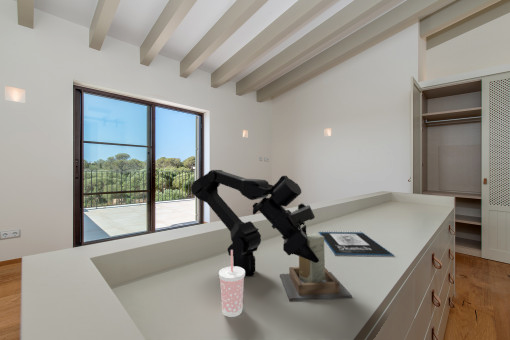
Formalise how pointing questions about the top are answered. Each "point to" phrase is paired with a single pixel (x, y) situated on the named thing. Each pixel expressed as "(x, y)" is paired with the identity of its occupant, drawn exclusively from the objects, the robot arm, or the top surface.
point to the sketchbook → (353, 244)
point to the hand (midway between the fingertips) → (316, 256)
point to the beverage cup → (232, 289)
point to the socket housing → (312, 287)
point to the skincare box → (310, 269)
